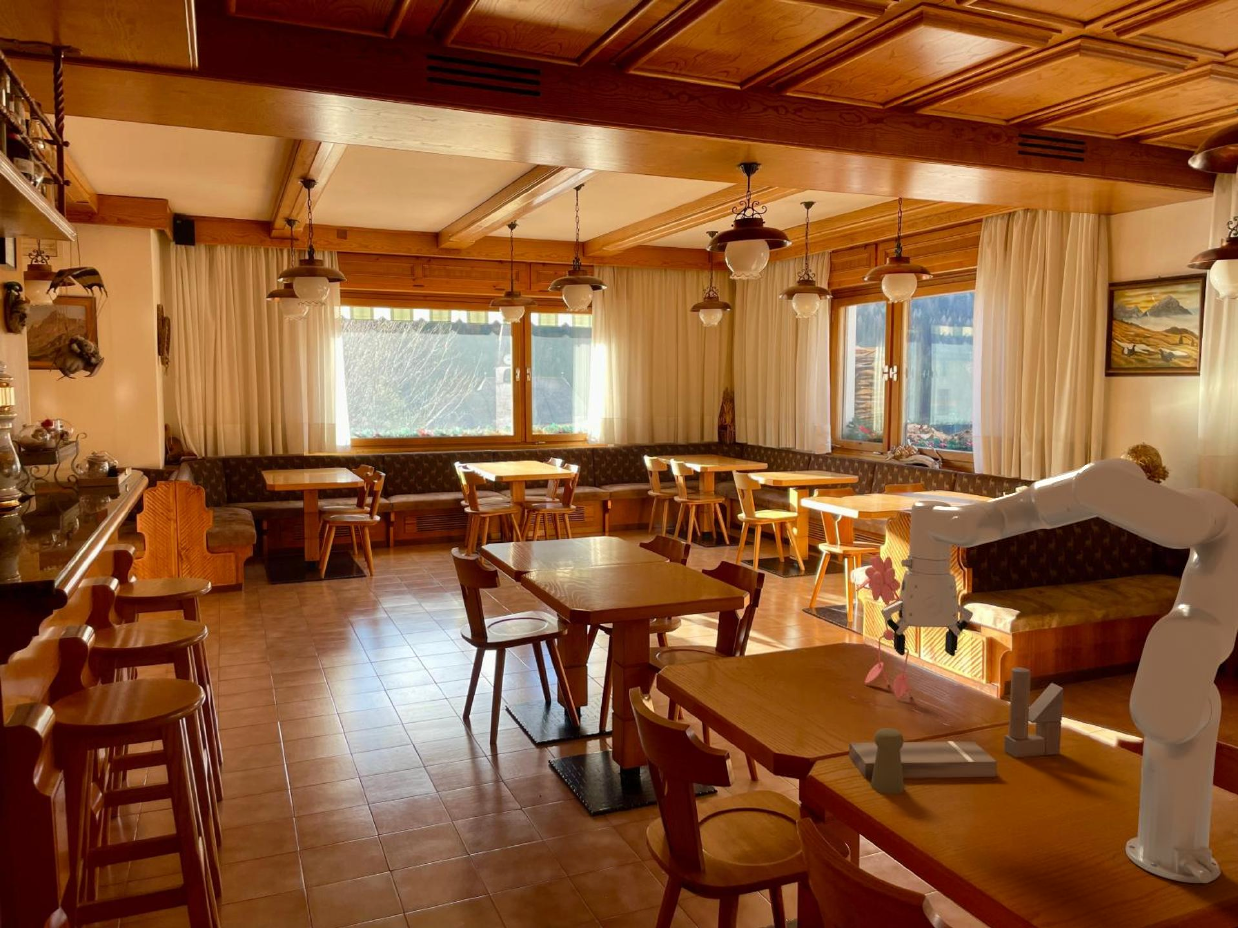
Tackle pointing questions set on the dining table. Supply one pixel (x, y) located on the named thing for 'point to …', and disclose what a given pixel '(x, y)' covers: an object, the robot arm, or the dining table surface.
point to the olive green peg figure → (888, 762)
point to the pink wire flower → (884, 586)
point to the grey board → (930, 759)
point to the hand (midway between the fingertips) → (924, 653)
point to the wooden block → (1033, 718)
